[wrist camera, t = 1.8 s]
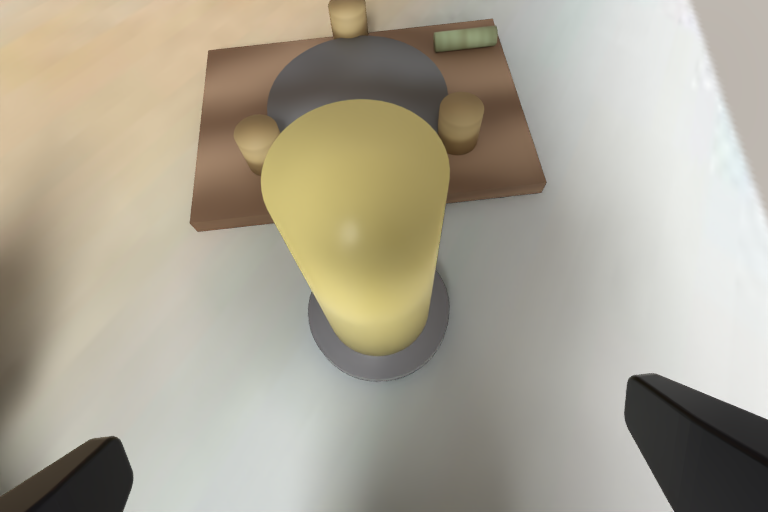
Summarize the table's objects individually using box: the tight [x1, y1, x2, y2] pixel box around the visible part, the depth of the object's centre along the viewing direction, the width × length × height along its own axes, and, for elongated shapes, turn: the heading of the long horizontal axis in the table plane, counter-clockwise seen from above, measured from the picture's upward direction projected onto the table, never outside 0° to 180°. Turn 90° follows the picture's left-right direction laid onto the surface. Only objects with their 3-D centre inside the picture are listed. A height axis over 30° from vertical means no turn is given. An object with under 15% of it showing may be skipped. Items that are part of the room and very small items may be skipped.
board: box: [190, 0, 547, 232], centre depth 26 cm, size 15×20×4 cm
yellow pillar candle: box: [261, 99, 450, 382], centre depth 17 cm, size 7×7×12 cm
